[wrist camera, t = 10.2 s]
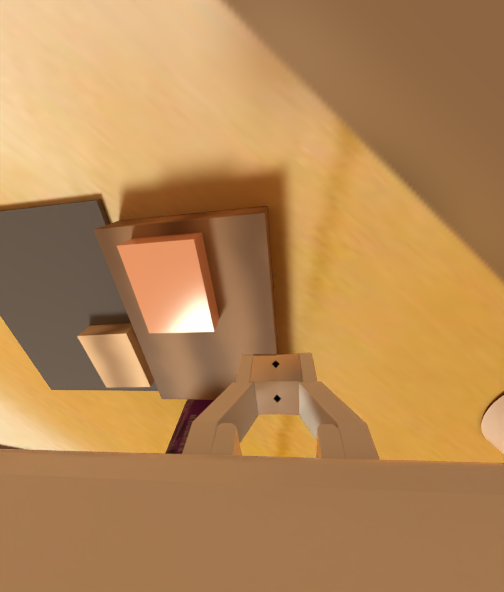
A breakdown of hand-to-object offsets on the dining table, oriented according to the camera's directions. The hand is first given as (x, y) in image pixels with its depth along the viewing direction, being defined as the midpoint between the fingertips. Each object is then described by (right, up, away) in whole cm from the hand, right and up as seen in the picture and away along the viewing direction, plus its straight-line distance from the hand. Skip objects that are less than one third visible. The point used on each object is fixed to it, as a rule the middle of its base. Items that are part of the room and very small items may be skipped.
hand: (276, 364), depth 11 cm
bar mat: (-22, +1, +18) cm, 29 cm away
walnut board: (-6, +2, +16) cm, 17 cm away
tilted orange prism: (-7, +4, +11) cm, 14 cm away
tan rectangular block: (-17, -4, +19) cm, 26 cm away
